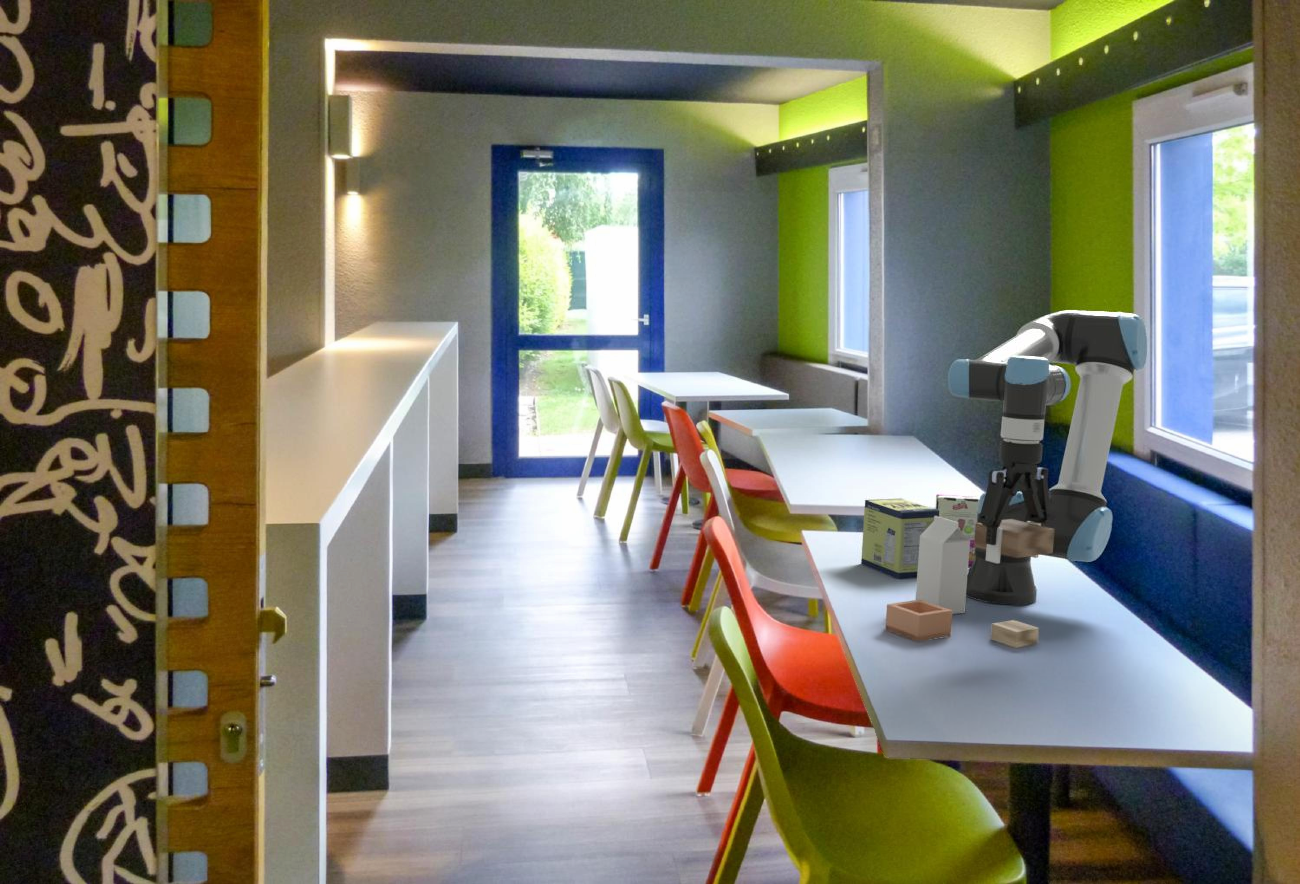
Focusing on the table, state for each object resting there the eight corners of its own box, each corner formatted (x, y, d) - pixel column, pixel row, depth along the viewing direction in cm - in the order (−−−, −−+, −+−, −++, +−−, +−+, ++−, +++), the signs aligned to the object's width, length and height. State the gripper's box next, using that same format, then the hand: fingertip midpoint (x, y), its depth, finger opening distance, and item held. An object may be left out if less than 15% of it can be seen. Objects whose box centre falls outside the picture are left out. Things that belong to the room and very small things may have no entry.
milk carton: (937, 616, 245) (944, 523, 243) (914, 607, 252) (921, 516, 249) (964, 613, 249) (972, 521, 246) (941, 604, 255) (948, 514, 252)
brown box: (1009, 542, 235) (1011, 518, 234) (1052, 552, 227) (1054, 529, 226) (973, 546, 229) (975, 523, 229) (1016, 558, 221) (1018, 533, 221)
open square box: (917, 624, 239) (919, 599, 238) (950, 636, 232) (952, 610, 231) (885, 629, 235) (887, 604, 234) (917, 641, 227) (919, 615, 227)
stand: (1012, 635, 234) (1013, 619, 234) (1037, 643, 229) (1038, 628, 229) (990, 639, 231) (991, 623, 231) (1015, 647, 226) (1016, 632, 226)
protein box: (896, 561, 293) (900, 497, 291) (936, 577, 279) (941, 509, 277) (859, 564, 289) (863, 499, 287) (898, 579, 275) (902, 511, 273)
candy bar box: (978, 563, 295) (984, 496, 292) (980, 568, 290) (986, 499, 288) (931, 559, 296) (936, 493, 294) (932, 564, 292) (937, 496, 289)
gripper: (996, 446, 216) (986, 569, 219) (1078, 440, 229) (1067, 557, 232) (963, 440, 222) (954, 560, 225) (1044, 435, 235) (1035, 549, 238)
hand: (1012, 558), depth 228 cm, fingers closed on brown box, 10 cm apart
